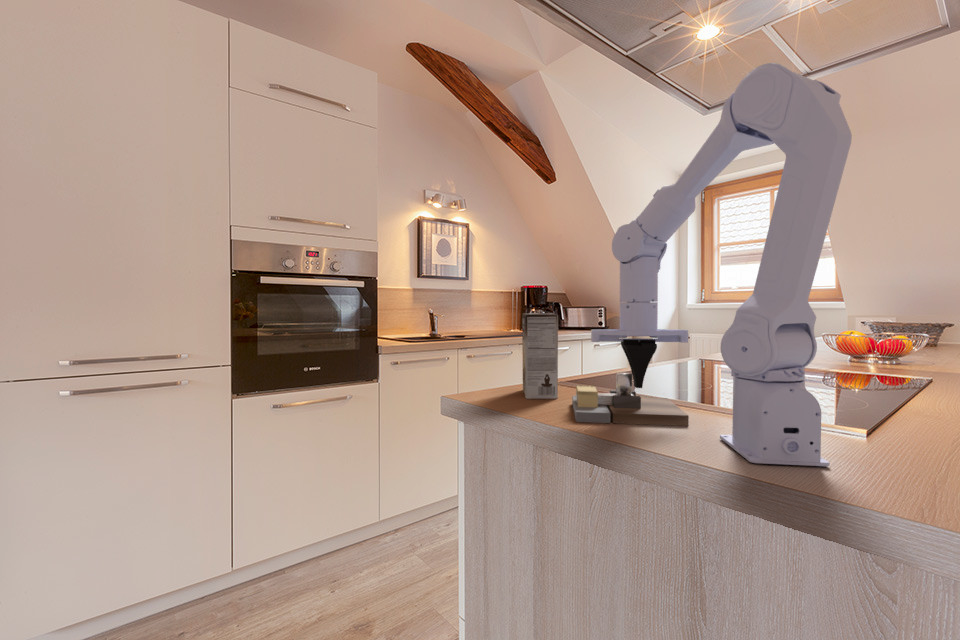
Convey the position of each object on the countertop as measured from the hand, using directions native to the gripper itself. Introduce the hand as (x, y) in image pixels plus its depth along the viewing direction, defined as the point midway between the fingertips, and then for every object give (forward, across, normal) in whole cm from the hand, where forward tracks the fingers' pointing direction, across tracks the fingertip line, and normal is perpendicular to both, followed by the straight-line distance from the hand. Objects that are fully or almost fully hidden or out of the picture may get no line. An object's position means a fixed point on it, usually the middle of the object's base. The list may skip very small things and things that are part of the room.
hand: (637, 387), depth 71 cm
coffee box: (+5, +16, -14) cm, 22 cm away
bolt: (+3, +5, 0) cm, 6 cm away
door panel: (+4, -1, 0) cm, 4 cm away
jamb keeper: (+4, +8, 0) cm, 9 cm away
